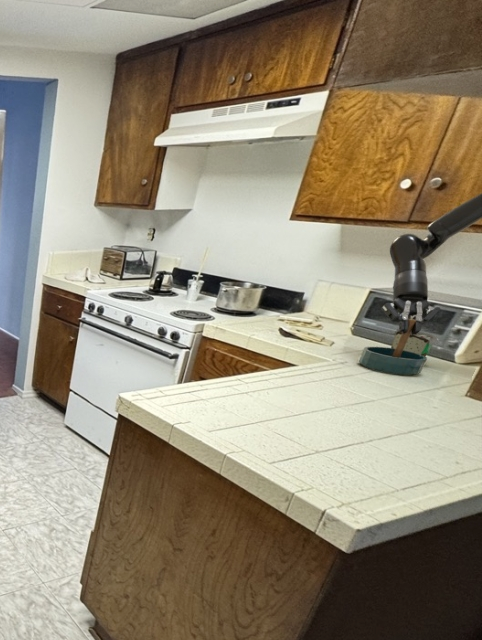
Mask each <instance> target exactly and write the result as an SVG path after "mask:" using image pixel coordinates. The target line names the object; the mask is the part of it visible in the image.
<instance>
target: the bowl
mask: <svg viewBox="0 0 482 640" xmlns="http://www.w3.org/2000/svg"><path fill="white" fill-rule="evenodd" d="M394 351H395V349H394V348H391V347H387V346H386V347H385V346H364V348H363V350H362V353H361V355H360V357H359V360H358V363H359V364H361V366H362V367H364V368H366V369H369V370H373V371H376V372H380V373H385V374H390V375H396V376H397V375H398V376H414V375H418V374H421V373H422V370H423V368H424V366H425V364H426V363H427V360H428V357H427V356H426V357H425V356H423V355H420V354H417V353H414V352H409V351H405V350H403V352H402V354H401V356H400V358H398V357H392V355H393V353H394Z"/></svg>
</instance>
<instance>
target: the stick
mask: <svg viewBox="0 0 482 640" xmlns="http://www.w3.org/2000/svg"><path fill="white" fill-rule="evenodd" d="M407 321H408V331H407V332H406V333H405V334H403V333H402V334H401V337H400V339H399V341H398V344H397V346H396V348H395V351H394V353H393V355H392V357H398V358H400V356H401V354H402V352H403V349H404V347H405V345H406V342H407V340H408V338H409V336H410V333H411V331H412V329H413V326H414V324H415V322H416V320H414V319H411V318H408V319H407Z"/></svg>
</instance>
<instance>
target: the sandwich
mask: <svg viewBox="0 0 482 640" xmlns="http://www.w3.org/2000/svg"><path fill="white" fill-rule="evenodd" d="M401 334H402V333H401V332H400V331H399V328H398V329H396V330H395V331H394V332H393V334H392V335H393V340H392V343H391V346H390V348H394V349H395V348H396V346H397V344H398V341H399V339H400V337H401ZM437 344H438V336H437V335H435V334H432V333H428V332H424V331H419V332H418V333H417V334H415V335H413V334H412V331H411V333H410V336H409V338H408V340H407V342H406V345H405V347H404V349H403V350H405V351H409V352H414V353H417V354H420V355H423V356H425V357H427V355H428V353H429V352H430V350H431V348H432V347H433V346H434V345H437Z"/></svg>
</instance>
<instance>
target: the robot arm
mask: <svg viewBox="0 0 482 640" xmlns="http://www.w3.org/2000/svg"><path fill="white" fill-rule="evenodd" d="M481 220H482V193H480V194H478V195H476V196H474V197H472V198H470V199H469V200H466V201H465V202H463V203H461V204H460V205H458V206H456V207H454V208H453V209H451V210H450V211H447V212H445V213H444V214H443V215H441V216H439V217H438V218H436V219H435V220H433V221H431V222H430V223H429V224H428V225H427V226H426V229H427V232H428V234H427V236H425V237H424V238H423V239H422V238H421V237H419V236H418V235H416V234H414V233H404V234H401V235H399V236H397V237H396V238H395V239H393V241H392V242H391V244H390V246H389V255H390V259H391V262H392V264H393V266H394V279H393V284H392V285H393V286H392V302H391V303H390V302H386V303H385V304H384V305H383V306H382V307H381V308H380V309H381V311H382V312H383V313H384V314H385V315H386V317H387V318H388V319H389V320H390V321H391V322H392V323H394V322H397V323H398V329H399V331H400V332H401V333H403V334H405V333H406V332H407V331H408V319H409V316H410V319H414V320H416V322H415V324H414V326H413V329H412V334H413V335H415V334H417V333H418V332H421V331H422V325H425V324H427V323H428V322H429V321H430V320H431V319H432V318H433V317H435V315H436V314H437V313H438V312H439V311H440V310H441V307H440V306H435V307H433V306H431V304H430V302H429V301H428V298H429V291H428V290H429V289H428V288H429V287H428V286H429V285H428V284H429V283H428V276H427V263H426V261H425V259H426V258H428V257H429V256H431V255H432V254H433V253H435V251H436V250H438V249H439V248H440V247H441V246H442V245H443V244H444V243H446V242H447V241H448V240H449V239H450V238H452V237H453V236H455V235H457V234H458V233H460V232H462V231H464V230H466V229H468V228H469V227H471V226H472V225H474V224H475V223H477V222H479V221H481ZM425 310H426V316H425V317H423V312H424V311H425Z"/></svg>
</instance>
